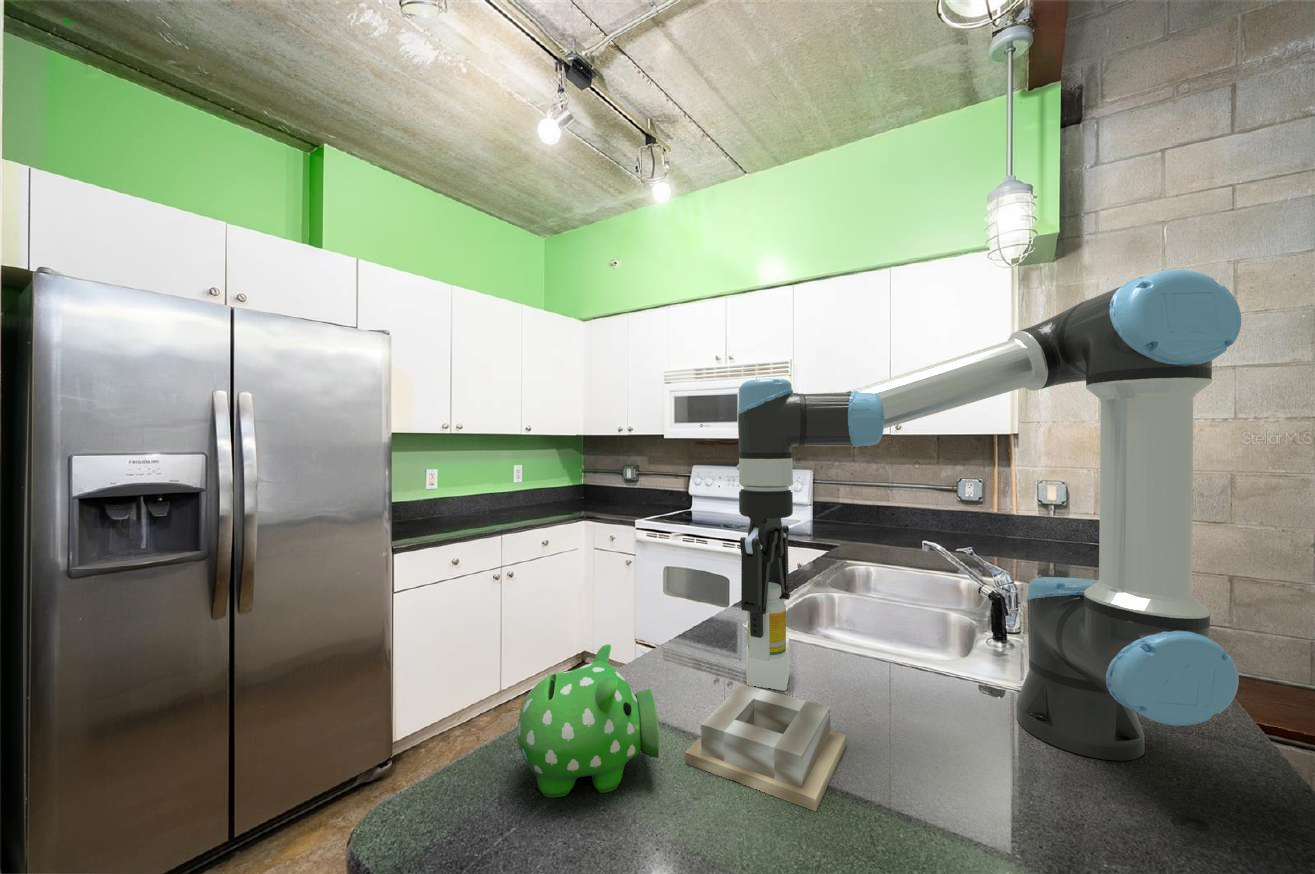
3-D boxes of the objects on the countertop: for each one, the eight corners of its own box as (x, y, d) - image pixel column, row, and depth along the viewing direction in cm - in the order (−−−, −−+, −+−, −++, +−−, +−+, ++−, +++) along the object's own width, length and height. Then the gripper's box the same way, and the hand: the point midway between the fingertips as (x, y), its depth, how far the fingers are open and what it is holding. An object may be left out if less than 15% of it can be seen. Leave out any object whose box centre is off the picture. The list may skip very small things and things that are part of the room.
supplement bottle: (740, 651, 74) (739, 584, 74) (764, 642, 78) (763, 578, 78) (770, 663, 70) (769, 592, 70) (794, 653, 74) (793, 585, 74)
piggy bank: (662, 803, 64) (661, 681, 64) (511, 821, 61) (510, 693, 61) (647, 738, 78) (646, 638, 78) (523, 750, 75) (523, 646, 76)
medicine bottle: (789, 674, 99) (789, 611, 99) (786, 691, 92) (785, 624, 92) (752, 669, 101) (751, 608, 101) (746, 685, 95) (745, 620, 95)
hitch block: (846, 745, 76) (845, 707, 76) (815, 811, 62) (815, 765, 62) (732, 711, 85) (732, 678, 86) (685, 762, 72) (684, 723, 72)
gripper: (763, 482, 84) (764, 626, 84) (713, 492, 68) (715, 669, 68) (809, 484, 80) (811, 635, 80) (768, 495, 64) (769, 682, 64)
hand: (767, 650), depth 74 cm, fingers closed on supplement bottle, 5 cm apart
